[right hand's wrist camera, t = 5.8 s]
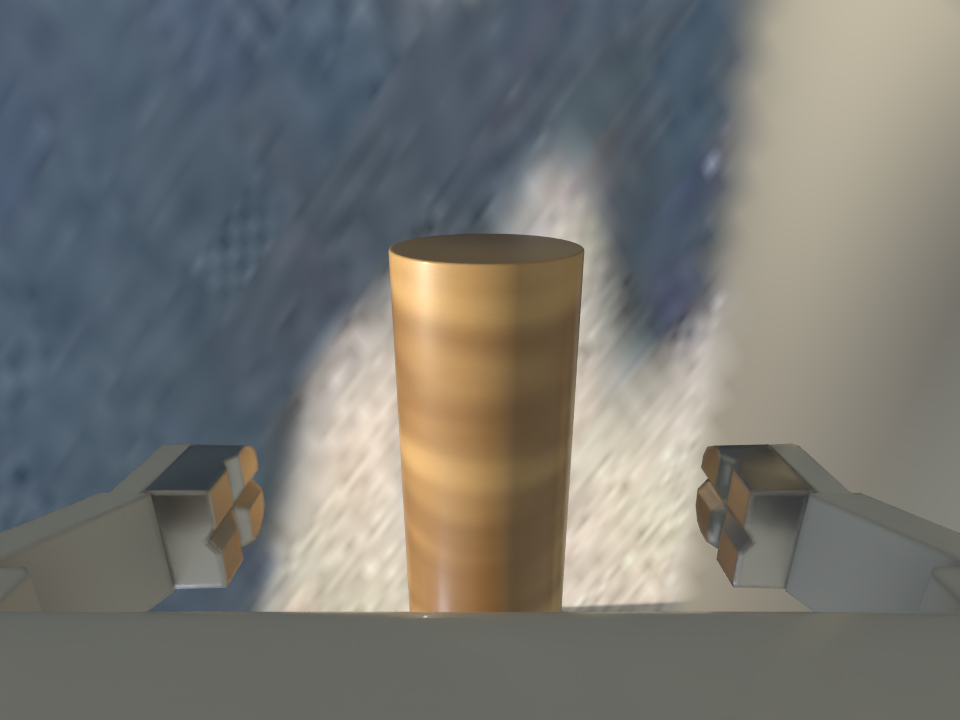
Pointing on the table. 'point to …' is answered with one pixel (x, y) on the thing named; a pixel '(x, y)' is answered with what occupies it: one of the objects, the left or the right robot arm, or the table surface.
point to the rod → (486, 416)
